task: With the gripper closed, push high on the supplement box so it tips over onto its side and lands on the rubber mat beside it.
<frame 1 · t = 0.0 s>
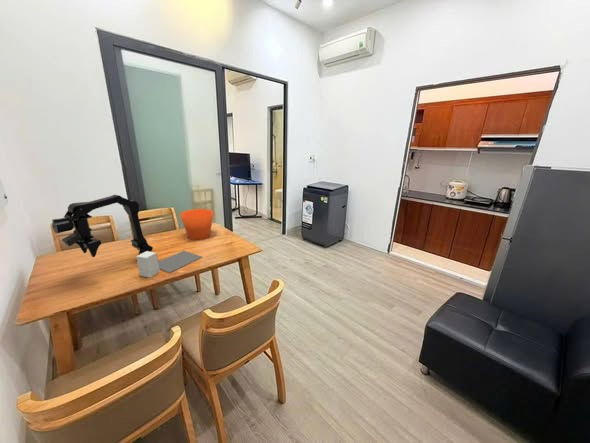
hand: (89, 254, 128), 15 cm above the table, fingers open, 9 cm apart
mat: (177, 261, 154), on the table
supplement box: (150, 274, 139), on the table
flowerpot: (199, 236, 196), on the table
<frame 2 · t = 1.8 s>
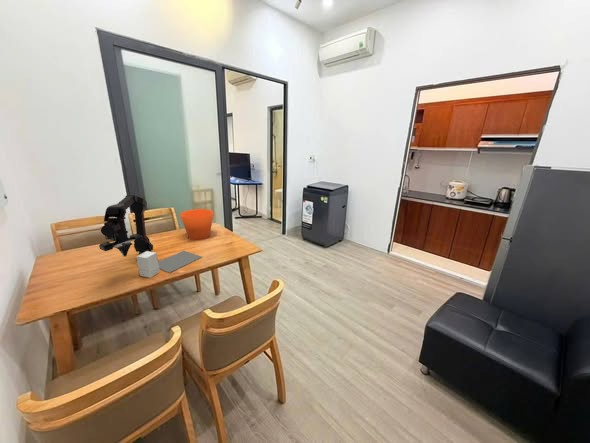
hand: (125, 256, 131), 13 cm above the table, fingers closed
nothing on the table moved.
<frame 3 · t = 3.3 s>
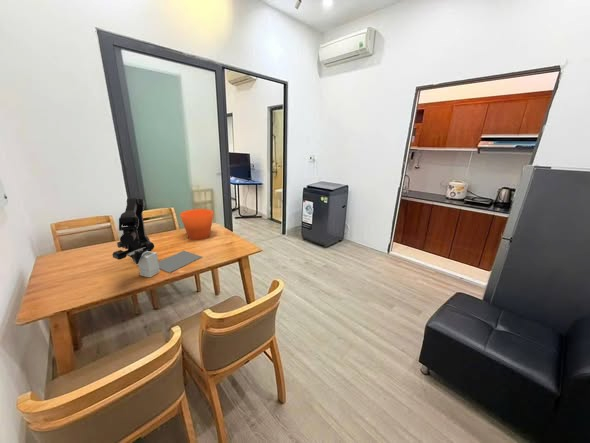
hand: (137, 264, 132), 9 cm above the table, fingers closed
supplement box: (150, 274, 139), on the table, touching gripper
everything else where it was.
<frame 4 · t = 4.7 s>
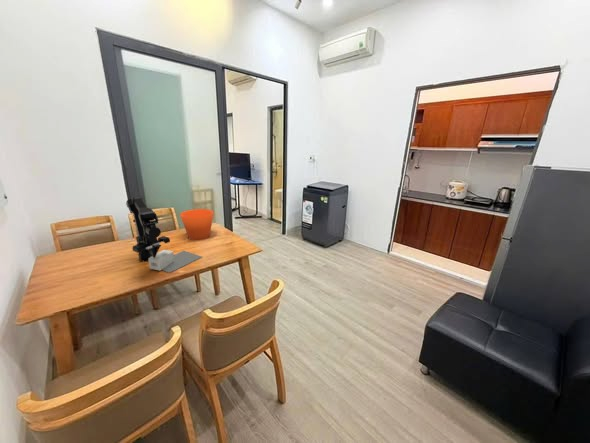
hand: (154, 257, 140), 9 cm above the table, fingers closed
supplement box: (153, 264, 141), point 4 cm above the table, touching mat
everything else where it was.
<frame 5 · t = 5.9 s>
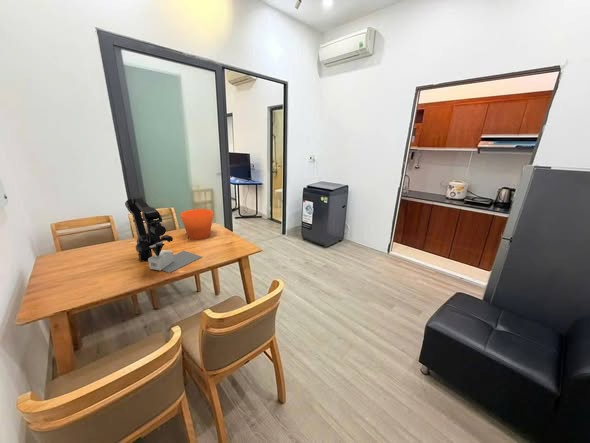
hand: (157, 255, 141), 9 cm above the table, fingers closed
nothing on the table moved.
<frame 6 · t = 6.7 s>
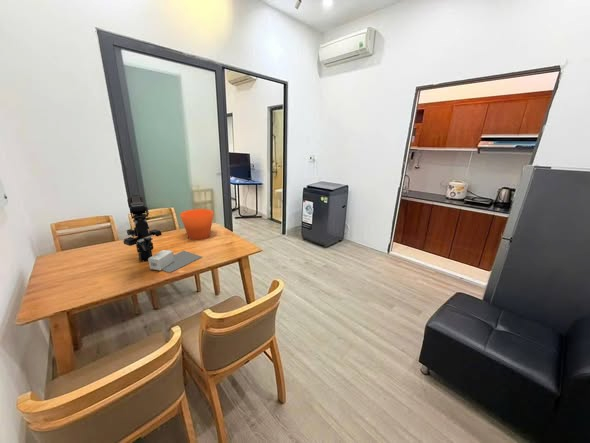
hand: (145, 250, 139), 13 cm above the table, fingers closed
nothing on the table moved.
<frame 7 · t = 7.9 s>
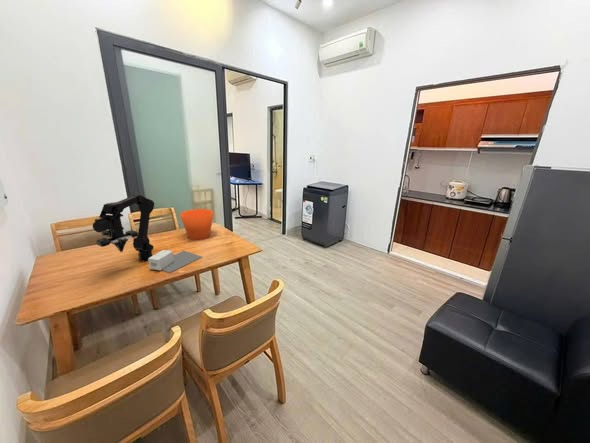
hand: (121, 251, 136), 13 cm above the table, fingers closed
nothing on the table moved.
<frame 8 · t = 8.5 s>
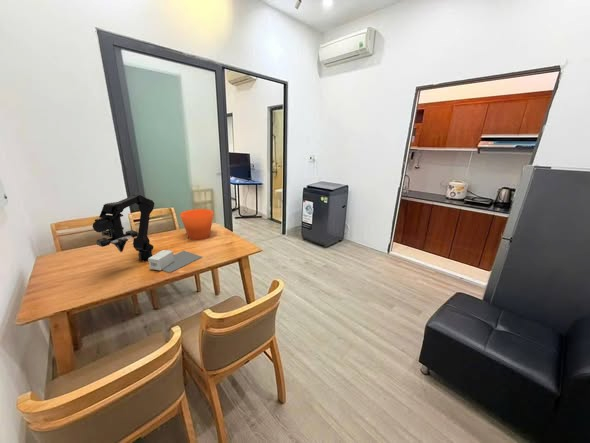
hand: (121, 251, 136), 13 cm above the table, fingers closed
nothing on the table moved.
at the end: supplement box tilted 90°; supplement box touching mat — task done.
